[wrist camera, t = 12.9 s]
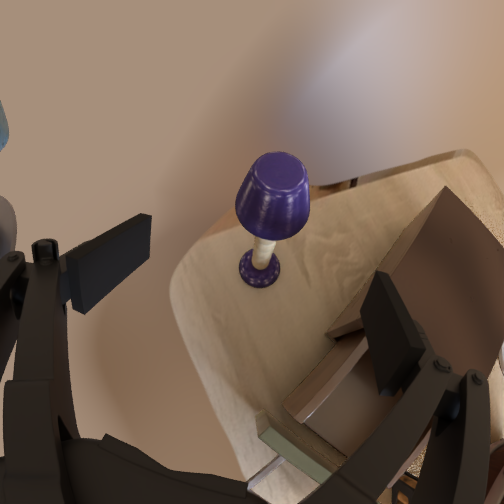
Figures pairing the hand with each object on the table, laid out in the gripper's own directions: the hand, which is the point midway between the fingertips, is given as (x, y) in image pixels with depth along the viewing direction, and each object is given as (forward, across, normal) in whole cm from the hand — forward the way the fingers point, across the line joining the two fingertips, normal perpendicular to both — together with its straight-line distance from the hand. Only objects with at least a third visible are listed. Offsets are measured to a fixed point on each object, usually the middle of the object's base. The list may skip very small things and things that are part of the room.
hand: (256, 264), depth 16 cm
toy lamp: (+13, 0, +7) cm, 14 cm away
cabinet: (+12, -18, +7) cm, 23 cm away
